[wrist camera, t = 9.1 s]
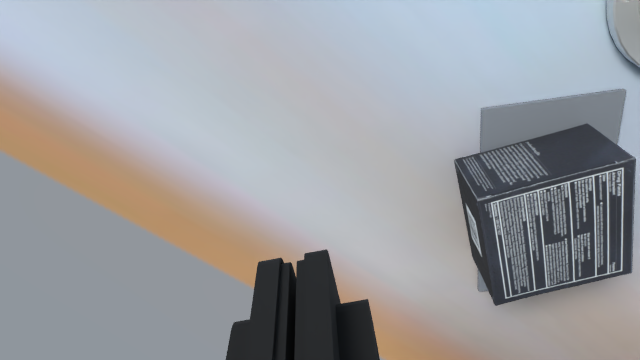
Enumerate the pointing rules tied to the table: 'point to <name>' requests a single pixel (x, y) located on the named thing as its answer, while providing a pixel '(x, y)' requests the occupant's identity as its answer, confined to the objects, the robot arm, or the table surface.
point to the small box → (549, 212)
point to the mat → (549, 121)
